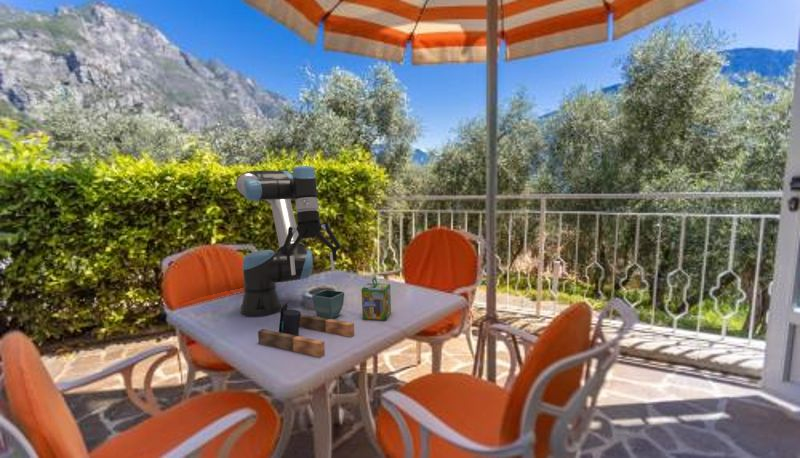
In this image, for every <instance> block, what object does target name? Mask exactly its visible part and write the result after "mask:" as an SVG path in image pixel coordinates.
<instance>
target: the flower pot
mask: <svg viewBox="0 0 800 458" xmlns="http://www.w3.org/2000/svg"><path fill="white" fill-rule="evenodd" d="M311 297H312V303H313V307H314V311H315V313H316V314H317V315H318V316H317V317H321V318H326V319H332V320H333V319H334V318H336V317H338V316H339V314H340V312H341V311H342V309H343V306H344V302H345V301H344V299H345V291H340V290H332V289H324V290H320V291H319V292H317V293H314V294H313V295H311Z"/></svg>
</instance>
